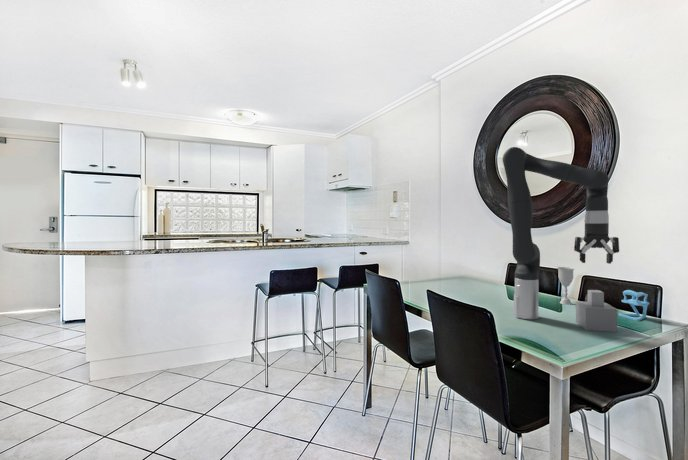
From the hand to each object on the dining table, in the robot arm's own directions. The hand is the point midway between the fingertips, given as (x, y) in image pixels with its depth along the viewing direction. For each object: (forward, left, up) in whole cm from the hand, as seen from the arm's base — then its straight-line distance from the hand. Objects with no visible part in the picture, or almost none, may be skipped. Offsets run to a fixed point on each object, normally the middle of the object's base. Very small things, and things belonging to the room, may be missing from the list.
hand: (595, 263), depth 130 cm
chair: (+21, +18, -26) cm, 38 cm away
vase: (+11, +32, -26) cm, 43 cm away
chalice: (+1, +38, -26) cm, 46 cm away
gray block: (0, 0, -26) cm, 26 cm away
